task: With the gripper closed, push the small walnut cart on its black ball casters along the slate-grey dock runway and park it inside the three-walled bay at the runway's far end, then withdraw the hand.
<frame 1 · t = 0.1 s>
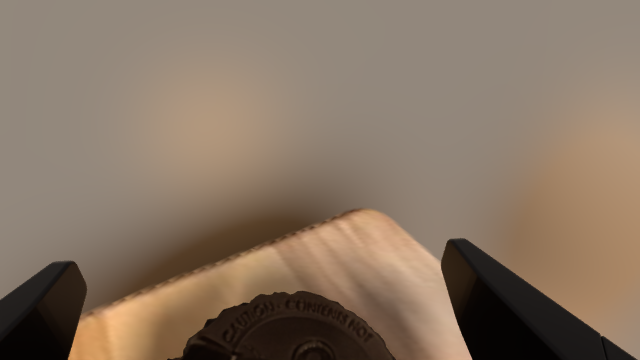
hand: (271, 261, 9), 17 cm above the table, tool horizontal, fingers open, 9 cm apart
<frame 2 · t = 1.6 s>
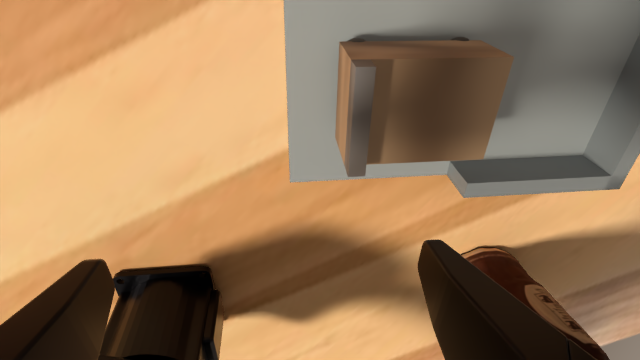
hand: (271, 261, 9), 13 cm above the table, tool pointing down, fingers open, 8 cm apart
cart: (398, 84, 20), resting on dock
dock: (466, 81, 21), on the table
coffee cup: (477, 271, 30), on the table
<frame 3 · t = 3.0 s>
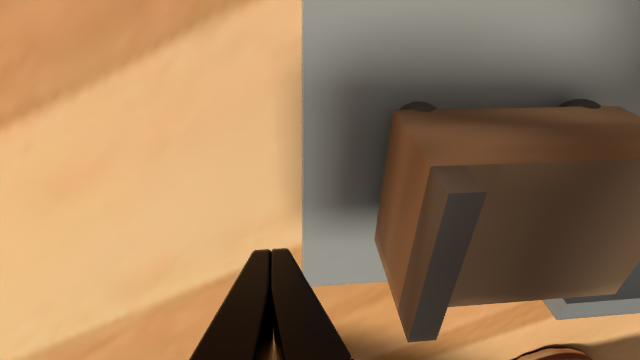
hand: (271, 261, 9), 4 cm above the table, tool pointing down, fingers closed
cart: (472, 162, 13), resting on dock
dock: (571, 154, 14), on the table
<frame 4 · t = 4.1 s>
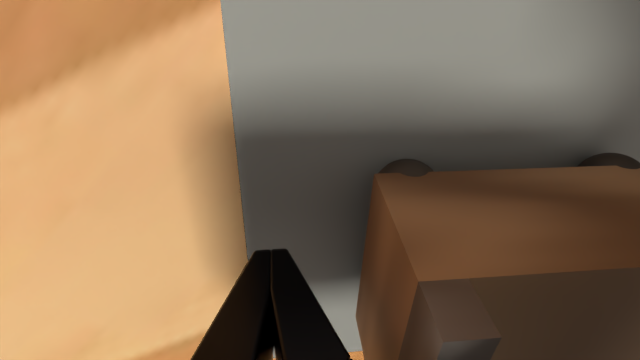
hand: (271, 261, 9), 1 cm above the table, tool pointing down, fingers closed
cart: (475, 223, 11), resting on dock, touching gripper
dock: (578, 212, 11), on the table
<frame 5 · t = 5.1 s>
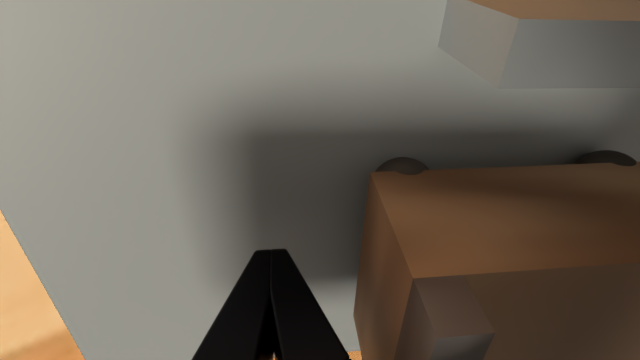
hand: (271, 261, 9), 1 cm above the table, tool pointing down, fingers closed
cart: (472, 221, 11), resting on dock, touching gripper
dock: (397, 220, 11), on the table
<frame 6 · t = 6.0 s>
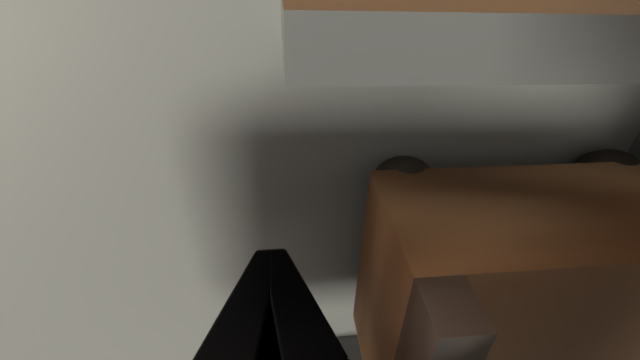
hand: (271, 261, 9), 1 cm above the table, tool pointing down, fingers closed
cart: (473, 221, 11), resting on dock, touching gripper
dock: (286, 225, 10), on the table
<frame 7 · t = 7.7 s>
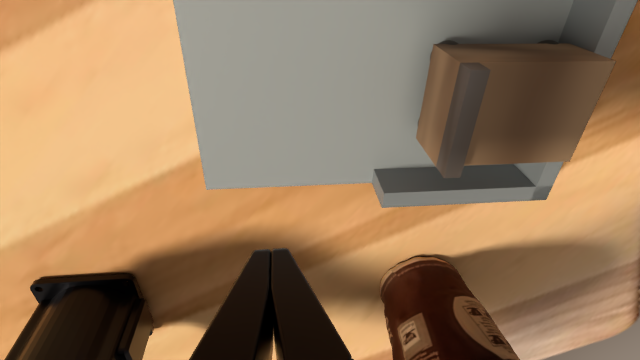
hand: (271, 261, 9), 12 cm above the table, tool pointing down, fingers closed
cart: (479, 86, 20), resting on dock
dock: (382, 87, 20), on the table
coffee cup: (418, 280, 30), on the table
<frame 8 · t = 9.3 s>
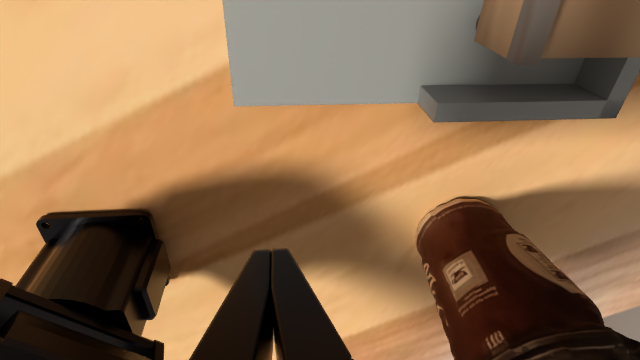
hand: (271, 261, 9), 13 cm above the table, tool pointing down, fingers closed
coffee cup: (457, 228, 27), on the table
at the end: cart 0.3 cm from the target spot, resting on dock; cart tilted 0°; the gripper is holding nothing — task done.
